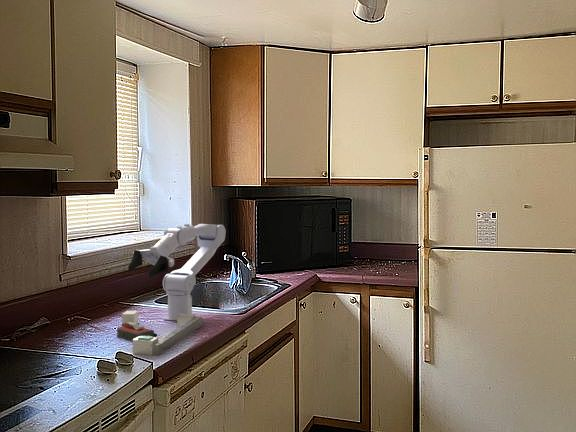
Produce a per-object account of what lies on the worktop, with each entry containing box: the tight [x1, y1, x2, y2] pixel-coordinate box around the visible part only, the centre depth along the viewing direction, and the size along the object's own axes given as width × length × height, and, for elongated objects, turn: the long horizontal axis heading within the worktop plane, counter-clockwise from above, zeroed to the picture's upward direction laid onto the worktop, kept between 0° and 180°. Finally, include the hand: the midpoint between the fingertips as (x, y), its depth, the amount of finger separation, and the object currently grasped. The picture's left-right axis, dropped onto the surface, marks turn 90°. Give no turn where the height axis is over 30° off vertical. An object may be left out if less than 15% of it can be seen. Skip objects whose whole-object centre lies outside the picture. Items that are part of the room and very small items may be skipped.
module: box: [121, 310, 139, 324], centre depth 208 cm, size 5×4×4 cm
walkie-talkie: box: [116, 322, 158, 342], centre depth 194 cm, size 9×4×20 cm
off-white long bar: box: [132, 313, 203, 356], centre depth 190 cm, size 35×8×4 cm, turn 168°
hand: (139, 271), depth 194 cm, fingers open, 7 cm apart
